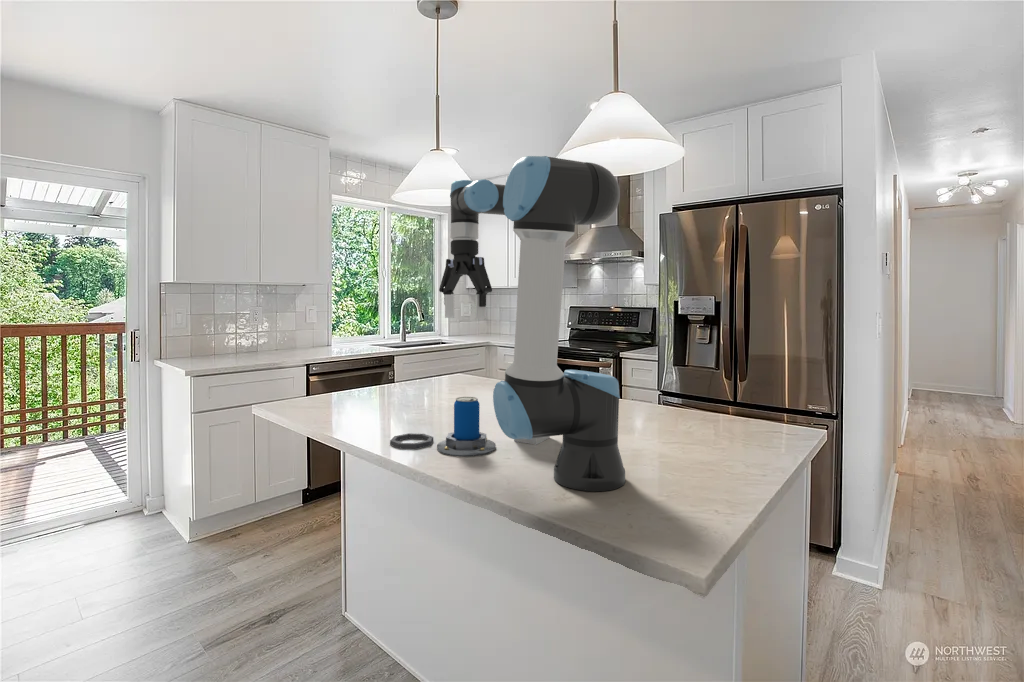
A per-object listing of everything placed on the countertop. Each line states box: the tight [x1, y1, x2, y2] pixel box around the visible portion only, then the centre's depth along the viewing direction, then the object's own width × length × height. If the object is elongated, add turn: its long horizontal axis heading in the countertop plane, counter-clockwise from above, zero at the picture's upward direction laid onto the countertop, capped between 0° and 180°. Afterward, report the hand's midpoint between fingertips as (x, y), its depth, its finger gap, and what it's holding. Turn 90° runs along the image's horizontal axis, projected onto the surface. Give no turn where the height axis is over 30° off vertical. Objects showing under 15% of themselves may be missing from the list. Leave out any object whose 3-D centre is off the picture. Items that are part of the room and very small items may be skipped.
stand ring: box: [389, 432, 434, 450], centre depth 141 cm, size 10×10×1 cm
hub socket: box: [436, 431, 497, 458], centre depth 137 cm, size 15×15×3 cm
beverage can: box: [453, 396, 480, 440], centre depth 137 cm, size 6×6×12 cm
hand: (464, 318), depth 147 cm, fingers open, 13 cm apart
